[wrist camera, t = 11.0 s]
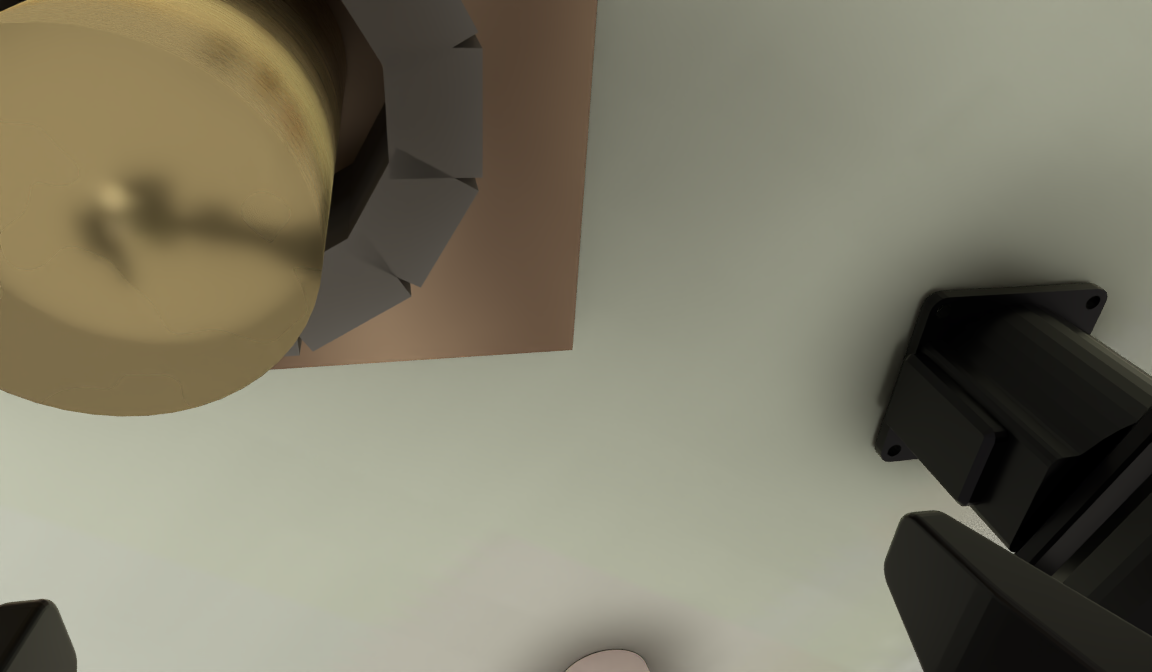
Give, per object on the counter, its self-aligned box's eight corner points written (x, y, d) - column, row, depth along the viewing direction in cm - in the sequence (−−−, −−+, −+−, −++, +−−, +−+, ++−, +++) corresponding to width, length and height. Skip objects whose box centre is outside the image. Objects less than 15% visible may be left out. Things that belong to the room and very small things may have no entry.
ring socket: (611, -377, 14) (709, -469, 10) (565, 330, 22) (609, 443, 18) (-426, -525, 11) (-918, -753, 7) (-46, 367, 19) (-165, 515, 15)
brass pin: (336, -62, 15) (296, 28, 7) (355, 161, 17) (340, 400, 10) (80, -74, 14) (-259, 15, 6) (137, 163, 16) (-66, 431, 9)
